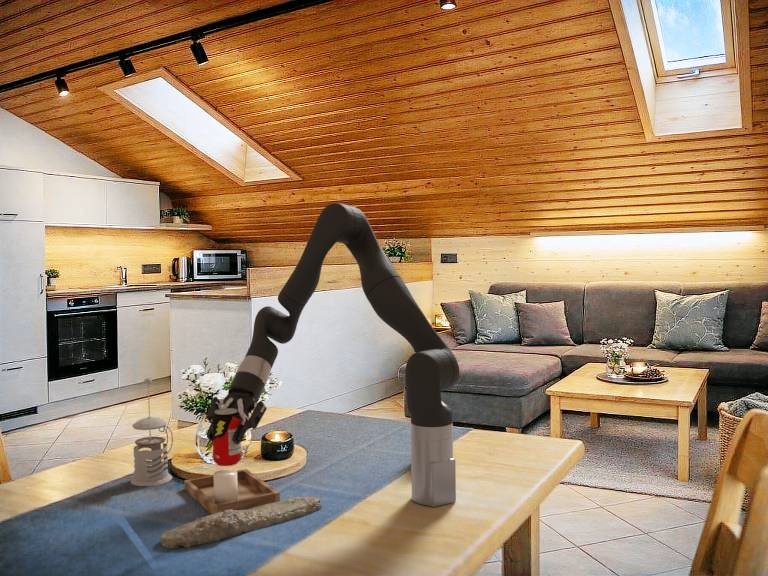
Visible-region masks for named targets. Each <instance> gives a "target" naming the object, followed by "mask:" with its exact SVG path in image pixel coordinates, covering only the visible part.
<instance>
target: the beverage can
mask: <svg viewBox="0 0 768 576" xmlns="http://www.w3.org/2000/svg"><path fill="white" fill-rule="evenodd" d="M237 411H238V410H237V409H233V408H224V409H218V410H216V411H215V414H214V416H213V418H212V438H213V441H212V460H213V462H214V463H215V464H216V465H218V466H221V467H230V466H234V465H237V464H238V463H240V461H241V459H242V441H241V442H240V443H239V444H235V443H234V442H233V441H232V438H233V436H234V434H235V432H236V429H237V428H238V425H239V426H240V417H239V414H238V412H237Z"/></svg>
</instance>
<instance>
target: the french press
mask: <svg viewBox="0 0 768 576" xmlns="http://www.w3.org/2000/svg"><path fill="white" fill-rule="evenodd" d="M143 383H144V384H145V385H146V384H147V393H148V394H147V395H148V396H147V399H148V401H147V402H148V417H144V418H141V419H138V420H137V421H136V422H134V423H132V425H131V426H132V428H133V429H135V430H138V431H151V430H152V431H153V430H157V429H158V431H159V432H160V433H164V432H165V433H166V438H165V437H164V436H151V432H149V436H145V437H142V438H138V439H136V440H135V441H134V444H135V446H134V447H133V463H134V465H133V467H134V468H133V469H134V470H133V471H134V476H133V478H131V481H130V483H131V485H134V486H139V487H151V486H158V485H159V486H160V485H161V484H165V483H168V482H170V481H172V479H173V476H172V475H171V474H170V473H169V466H168V465H169V464H168V463H169V462H168V457H169V456H168V454H170V451H171V450H172V447H173V443H174V435H173V432H172V430H171V428H170V427H169V426H167V424H168V422H167V421H166V420H164V419H163V418H160V417H152V416H151V412H150V411H151V410H150V409H151V408H150V385H149V384H153V379H152V378H151V377H150V378H149V377H146V378H145V379H144V381H143ZM161 428H163V430H161ZM167 429H168V430H169V432H170V434H171V444H170V448H169V450H168V442H169V435H168V430H167ZM165 441H166V443H165ZM161 444H162V445H161ZM141 449H144V450H141ZM145 449H150V450H145ZM162 460H163V461H162ZM162 465H163V466H162Z"/></svg>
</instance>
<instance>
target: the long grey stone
mask: <svg viewBox="0 0 768 576" xmlns="http://www.w3.org/2000/svg"><path fill="white" fill-rule="evenodd" d="M320 499H321V498H320V497H319V496H301V497H300V496H296V497H294V496H293V497H290V498H287V499H284V500H280V501H278V502H274V503H269V504H265V505H261V506H258V507H253V508H248V509H244V510H233V509H230V510H225V511H224V512H218V513H215V514H212V515H211V514H209V515H206V516H203V517H197V518H196V519H194V520H193V521H190V522H186V523H184V524H182V525H180V526H176V527H175V528H172V529H170V530H166V531H164V533H162V534H161V536H160V545H161V546H162V547H163V548H166V549H171V550H172V549H176V548H179V547H184V548H186V549H188V548H191V547H194V546H200V545H201V546H202V545H204V544H209V543H213V542H218V541H221V540H225V539H227V538H231V537H235V536H238V535H241V534H243V533H248V532H251V531H254V530H258V529H261V528H265V527H266V528H267V527H270V526H272V525H275V524H281V523H284V522H287V521H290V520H293V519H295V518H296V519H297V518H300V517H303V516H306V515H309V514H312V513H314V512H316V511H318V510H321V509H322V508H323V505H322V503H321V500H320Z"/></svg>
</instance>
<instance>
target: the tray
mask: <svg viewBox="0 0 768 576" xmlns="http://www.w3.org/2000/svg"><path fill="white" fill-rule="evenodd" d="M236 471H237V482H238V500H233V501H228V502H223V503H218V504H215V503H214V476H213V474H212V475H206V476H202V477H201V476H199V477H195V478H190V479H185V480H183V484H184V485H183V486H184V487H183V489H184V490H185V492H186V493H187V494H189V495H190V496H191V497H192V498H193V499H195V501H196V502H197V503H198V504H199V505H201V506H202V507H203V508H204V510H206V512H208V513H209V515H212V514H215V513H218V512H224V511H225V510H230V509H233V510H247V509H250V508H253V507H258V506H261V505H265V504H269V503H274V502H278V501H281V498H280V497H281V492H280V491H278V490H277V489H275V488H274V487H273V486H271V485H270V484H268V483H267V482H266V481H264V480H263V479H261V478H260V477H258V476H256V475H255V474H254V473H252V472H251V471H249V470H248V469H247V468H245V469H244V468H243V469H239V470H236Z"/></svg>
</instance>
